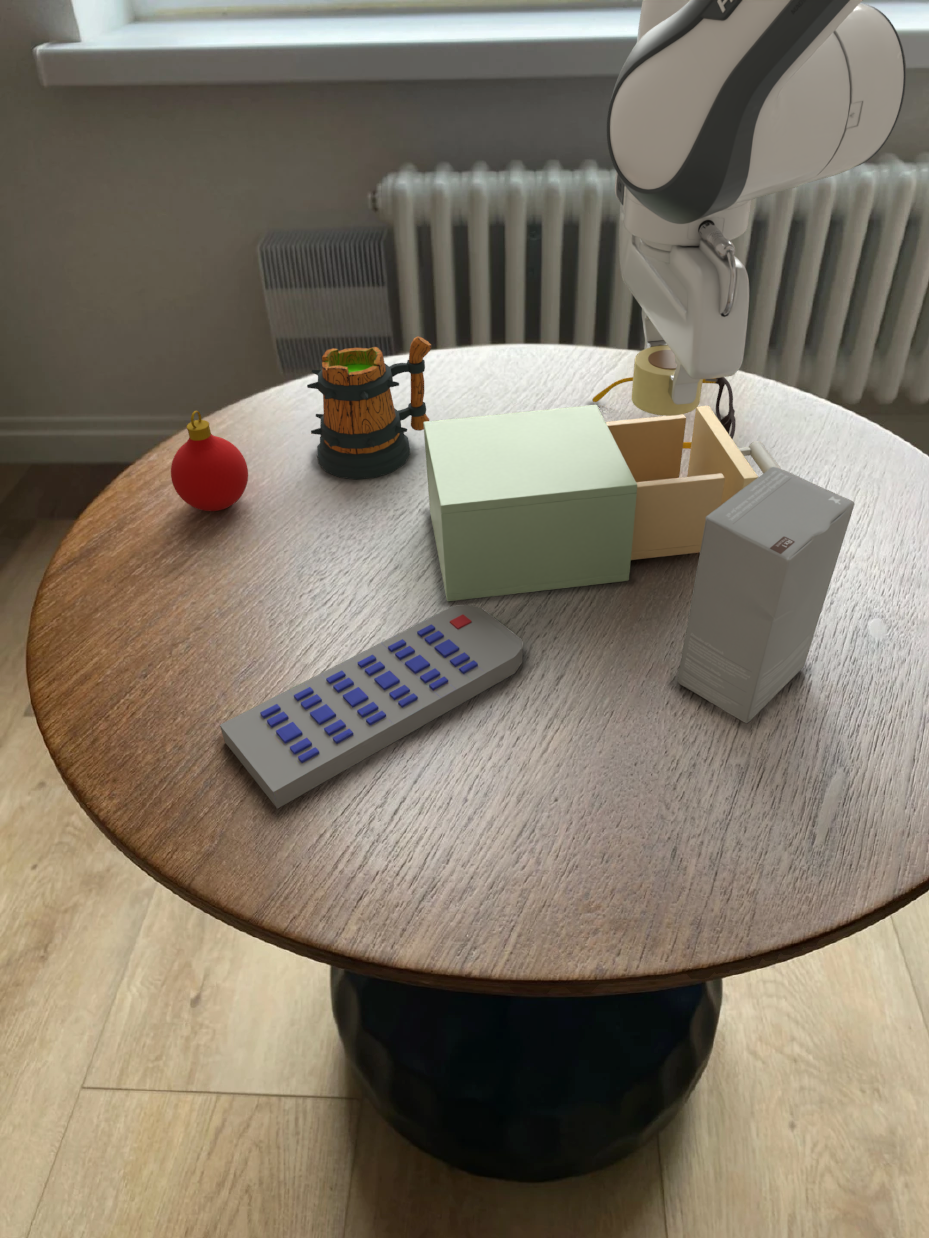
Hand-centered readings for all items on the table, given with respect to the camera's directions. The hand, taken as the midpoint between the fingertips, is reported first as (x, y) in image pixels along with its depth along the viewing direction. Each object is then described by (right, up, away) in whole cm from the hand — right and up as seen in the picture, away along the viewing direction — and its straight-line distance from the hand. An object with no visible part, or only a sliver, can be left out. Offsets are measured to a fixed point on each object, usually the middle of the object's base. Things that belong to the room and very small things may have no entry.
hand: (668, 380), depth 78 cm
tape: (0, -1, +1) cm, 2 cm away
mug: (-25, -2, +22) cm, 34 cm away
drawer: (+2, -10, +9) cm, 14 cm away
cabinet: (-11, -13, +9) cm, 19 cm away
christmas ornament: (-40, -8, +16) cm, 44 cm away
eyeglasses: (+4, -1, +22) cm, 22 cm away
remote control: (-23, -26, -6) cm, 35 cm away
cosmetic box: (+4, -24, -5) cm, 25 cm away
